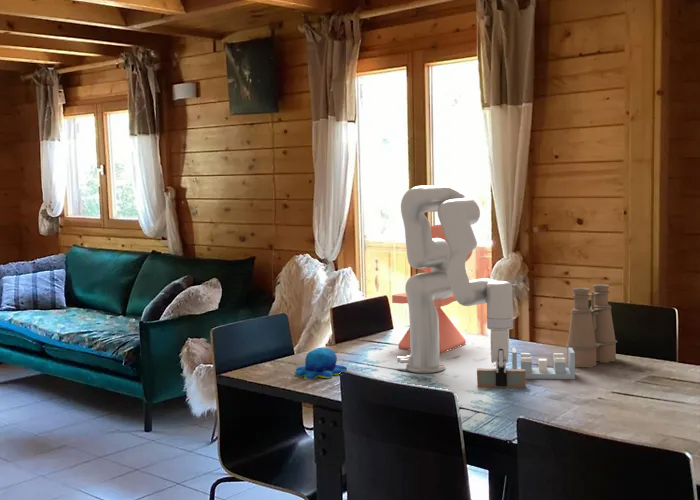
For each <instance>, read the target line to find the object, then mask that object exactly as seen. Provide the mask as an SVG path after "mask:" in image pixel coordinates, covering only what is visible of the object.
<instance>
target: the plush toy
mask: <svg viewBox="0 0 700 500" xmlns="http://www.w3.org/2000/svg"><path fill="white" fill-rule="evenodd" d="M337 360H338V358H337V354H336V352H335V351H334V350H332V349H331V348H327V347H325V348H323V347H317V348H315V349H313V350H311V351H309V352H307V354H306V356H305V360H304V361H305V363H304V365H302V366H301V365H300V366H298V367H296V370H295V374H294V375H295V376H296V377H303V379H304V380H313V379H317V378H318V377H319V378H324V379H333V376H340V375H339V373H340V372H341V371H346V370H347V369H348V368H347V366H344V365H341V364H337V362H338V361H337Z"/></svg>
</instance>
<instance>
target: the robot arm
mask: <svg viewBox="0 0 700 500" xmlns="http://www.w3.org/2000/svg"><path fill="white" fill-rule="evenodd" d="M434 212H436V213H437V218H438V219H439V222H440V225H441V226H442V229H443V231H444V234H445V237H446V240H447V242H446V241H445V240H443V239H440V238H434V239H432V235H431V226H432V225H431V224H430V221H429V219H428V218H427V216H426V215H425V214H426V213H434ZM400 213H401V217H402V221H403V226H404V235H405V236H404V237H405V245H406V246H405V247H406V248H405V249H406V258H407V261H408V264H409V266H410V267H411V268H412V269H416V270H422V269H425V268H431V272H421V273H420V272H419V273H417V274H413V275H412V276H410V277H409V278H408V279H407V281H406V283H405V288H404V289H405V293H406V295H407V300H408V303H407V305H408V315H409V316H408V317H409V328H410V348H411V350H410V354H409V355H406V356H402V355H401V356H400V355H398V356H396V357H397V358H396V359H397V363H400V364H406V365H405V366H406V367H405V369H406V370H407V371H408V372H412V373H417V374H431V373H437V372H442V371H444V370H445V368H446V366H445V364H444V363H443V362H441V360H440V359H441V357H440V354H441V353H440V348H439V316H438V311H437V309H436V307H435V305H434V303H433V301H435V300H441V299H446V298H448V297H450V296H451V295H452V294H453V295H454V297H455V299H456V300H457V301H456V302H457V303H458V304H459V305H462V306H464V307H470V306H476V305H482V304H486V326H487V327H486V328H487V329H488V330H490V361H491V364H494V363H495V367H496V368H495V369H496V386H507V373H506V369H507V363H508V362H509V355H510V330H513V329H514V315H513V314H514V311H513V310H514V306H513V305H514V303H513V298H514V297H513V284H512V283H511V282H509V281H508V280H507V281H506V280H505V281H504V280H495V279H490V278H487V277H486V278H477V279H469V276H468V274H467V271H466V262H467V261H466V258H467V256H468V254H469V253H470V252H471V251H472V250H473V251H474V250H475V249H476V247H478V242H477V239H476V236H475V234H474V231H473V229H472V226H471V225H474V224H476V223H478V221H479V220H480V216H481V215H480V214H481V212H480V207H479V205H478V203H477V202H476V201H475V200H474V199H473V198H471V197H469V196H468V195H466V194H465V193H463V192H461V191H459V190H457V189H455V188H454V187H452V186H450V185H444V184H443V185H442V184H440V185H437V184H435V185H417V186H414V187H412V188H409V189H408V190H407V191H405V193H404V195H403V196H402V198H401V201H400ZM473 251H472V252H473Z"/></svg>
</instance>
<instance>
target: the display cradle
mask: <svg viewBox="0 0 700 500" xmlns="http://www.w3.org/2000/svg"><path fill="white" fill-rule="evenodd" d="M552 354H553V357H552V358H553V367H548V360H547V358H537V359H538V360H537V361H538V363H537V364H538V367H533V366H532V364H533V362H532V361H533V359H532V357H531V355H532V354H531V352H530V353H528V352H525V353H523V352H520V367H519V366H518V367H517V365H518V361H517V348H516V347H511V369H525V374H526V379H530V380H531V379H533V380H534V379H538V380H543V379H544V380H575V379H576V370H575V369H576V367H575V353H574V351H573V349H572V348H568V357H567V362H568V365H567V366H568V367H566V357H564V355H565V354H564V353H563V352H562V353H561V352H560V353H556V352H555V353H552Z"/></svg>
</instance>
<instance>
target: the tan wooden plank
mask: <svg viewBox="0 0 700 500" xmlns="http://www.w3.org/2000/svg"><path fill="white" fill-rule="evenodd" d="M506 373H507V386H496V368H477V369H476V385H477V386H476V387H477V388H507V389H508V388H509V389H510V388H511V389H512V388H513V389H514V388H515V389H526V387H527V386H526V385H527V384H526V374H525V369H512V368H506Z"/></svg>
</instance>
